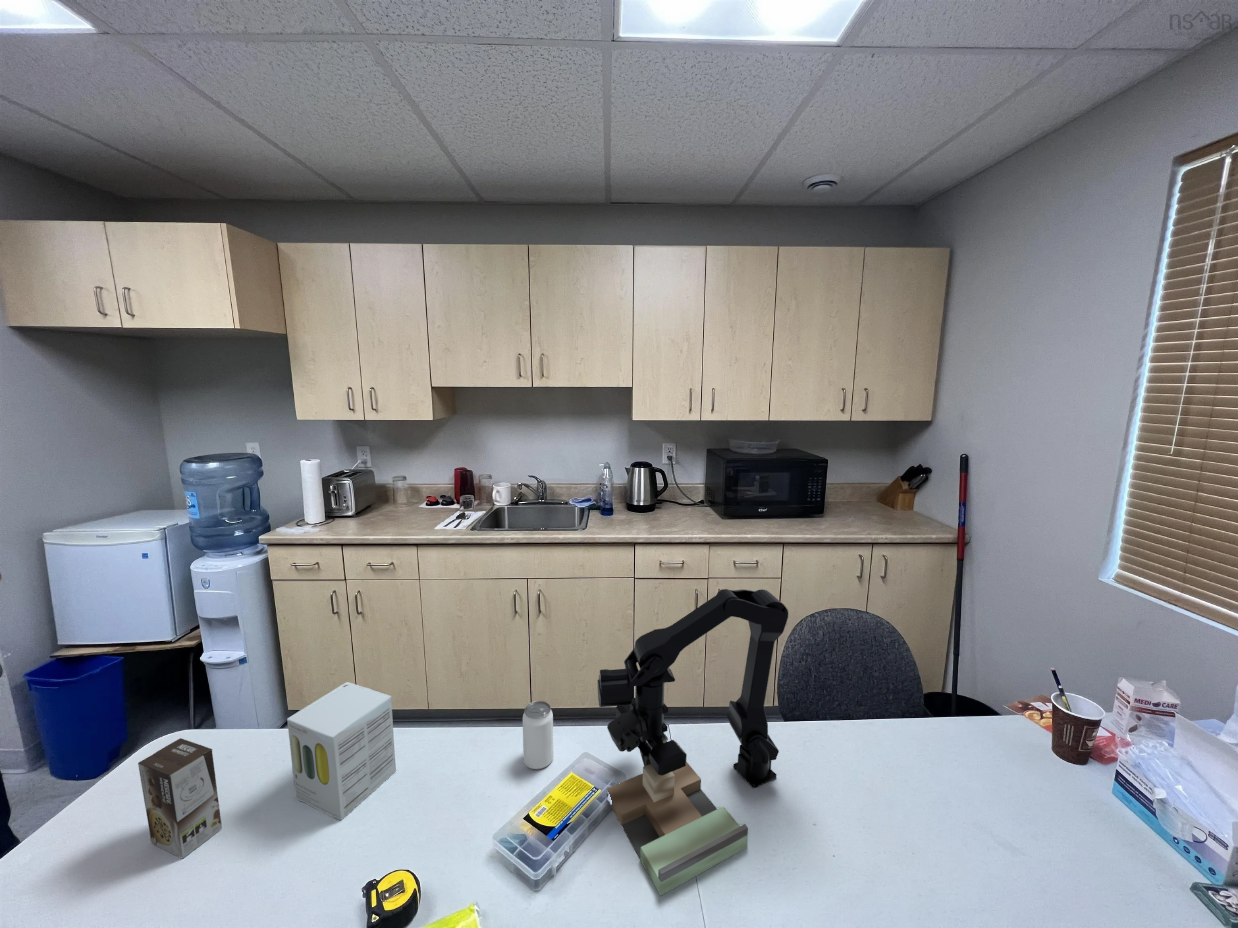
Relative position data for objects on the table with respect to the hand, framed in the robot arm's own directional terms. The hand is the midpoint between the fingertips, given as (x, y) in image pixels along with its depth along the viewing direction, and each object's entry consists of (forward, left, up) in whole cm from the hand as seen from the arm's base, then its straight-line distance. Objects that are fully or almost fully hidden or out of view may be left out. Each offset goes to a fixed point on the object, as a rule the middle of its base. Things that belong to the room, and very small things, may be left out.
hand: (647, 769), depth 94 cm
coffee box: (+80, -28, -4) cm, 85 cm away
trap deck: (0, +9, -4) cm, 10 cm away
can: (+18, -17, -4) cm, 25 cm away
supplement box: (+55, -28, -4) cm, 62 cm away
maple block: (0, +4, -1) cm, 4 cm away
